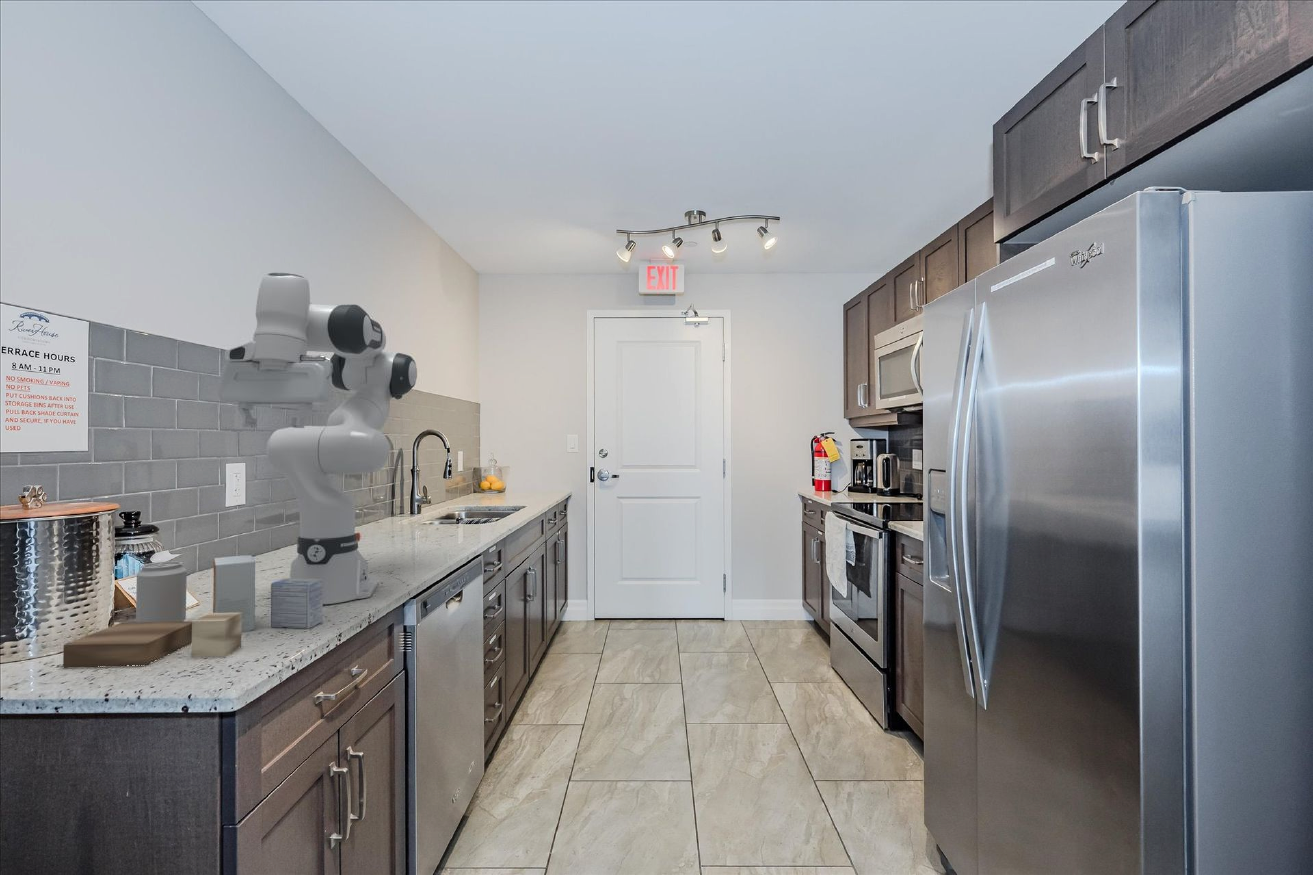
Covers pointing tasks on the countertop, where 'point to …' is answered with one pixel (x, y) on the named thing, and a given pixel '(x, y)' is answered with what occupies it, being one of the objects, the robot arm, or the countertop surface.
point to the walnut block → (128, 644)
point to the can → (161, 592)
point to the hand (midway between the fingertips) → (273, 427)
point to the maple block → (216, 634)
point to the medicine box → (296, 602)
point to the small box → (235, 588)
